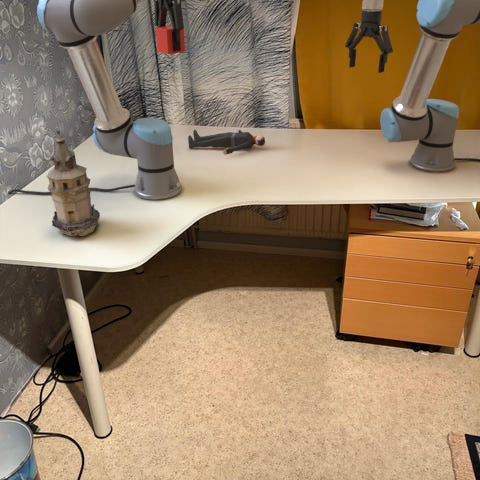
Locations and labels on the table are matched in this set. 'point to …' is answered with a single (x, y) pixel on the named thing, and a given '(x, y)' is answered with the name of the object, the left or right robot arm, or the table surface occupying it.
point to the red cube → (168, 40)
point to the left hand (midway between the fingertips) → (170, 49)
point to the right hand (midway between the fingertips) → (366, 69)
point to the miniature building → (70, 193)
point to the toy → (226, 141)
